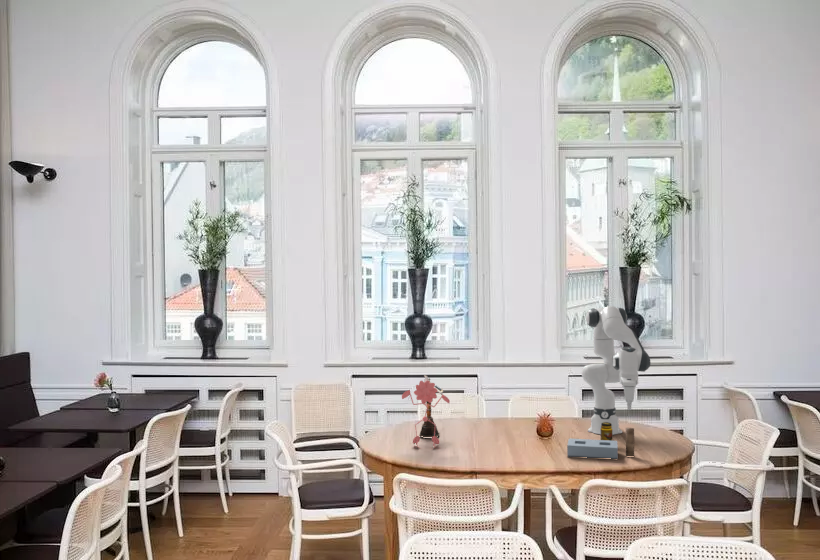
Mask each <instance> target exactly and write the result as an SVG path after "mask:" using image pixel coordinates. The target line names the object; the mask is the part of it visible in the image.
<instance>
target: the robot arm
mask: <svg viewBox="0 0 820 560" xmlns="http://www.w3.org/2000/svg"><path fill="white" fill-rule="evenodd" d="M627 319H628V315H627V312H626V310H625V309H624V308H623V307H616V306H614V305H608V306H606V307H597V308H595V307H594V308H589V309H588V310H587V312H586V315H585V321H586V324H587V326H588V327H590V328H593V333H592V334H593V335H592V337H593V339H592V340H593V353H594V354H595V355H596V356H597V357H599V358H601V359H602V360H603V363H591V364H587V365H584V366H583V368H582V369H581V378H582V379H583V381H584V382H585V383H586V384H588V385H589V387H591V389H592V392H593V398H594V407H593V415H592V416H591V418H590V423H591V424H590V427H589V428H588V429H587V432H589V433H593V434H596V435H601V423H603V422H609V423H611V424H612V436H614V435H618V434H623V430H622V429H621V428H620V427H619V426H620V425H619V421H620V420H619V417H618V416H617V415H616V414H617V408H616V395H615V393H614V392H613V391H612V390H611V389H608V388H606V384H612V383H613V384H615V383H616V384H617V383H619V384H620V385H621V386H622V387H623V393H624V400H625V402H626V406H627V410H628V411H631V410H632V403H633V402H634V399H635V389H636V387H637V385H638V384H639V372H642V373H645V372H646V371H647V370H649V368H650V367H651V357H650V355H649V353H647V352H646V350H645V349H644V347H643V345H642V343H641V341H640V339H639V337H638V336H637V334H636V332H635V331H634V330H633V329H632V328H629V326H628V325H627ZM614 340H615V341H618V342H619V341H620V342H623V343H626V344H627V345H629V346H624V347H621V348H620V349H619V351H618V352H616V351H615V344H614Z"/></svg>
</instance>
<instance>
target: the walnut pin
mask: <svg viewBox="0 0 820 560" xmlns="http://www.w3.org/2000/svg"><path fill="white" fill-rule="evenodd" d="M626 456H634V457H635V428H634V427H625V457H626Z"/></svg>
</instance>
